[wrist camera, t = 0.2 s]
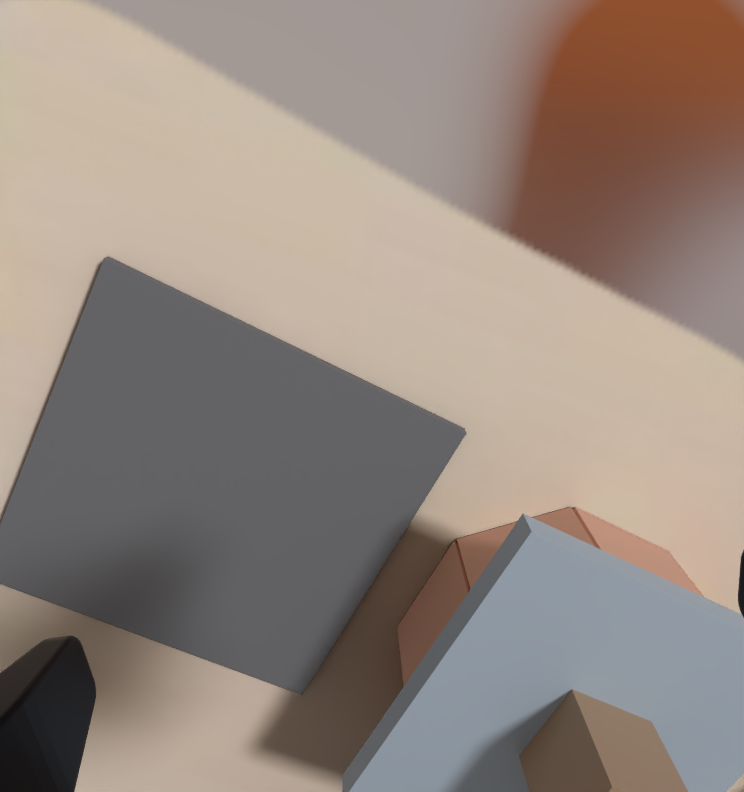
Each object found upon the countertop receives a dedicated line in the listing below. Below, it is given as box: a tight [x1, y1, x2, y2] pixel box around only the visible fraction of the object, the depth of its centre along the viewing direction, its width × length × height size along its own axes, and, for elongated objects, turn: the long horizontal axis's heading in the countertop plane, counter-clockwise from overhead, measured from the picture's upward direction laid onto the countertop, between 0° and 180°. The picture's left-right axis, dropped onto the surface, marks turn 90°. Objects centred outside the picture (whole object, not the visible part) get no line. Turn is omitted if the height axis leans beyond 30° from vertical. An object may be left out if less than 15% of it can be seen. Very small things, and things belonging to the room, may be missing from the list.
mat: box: [0, 257, 466, 695], centre depth 24 cm, size 13×13×1 cm
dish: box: [397, 507, 704, 687], centre depth 25 cm, size 11×11×4 cm
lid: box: [343, 514, 744, 792], centre depth 21 cm, size 12×12×4 cm
